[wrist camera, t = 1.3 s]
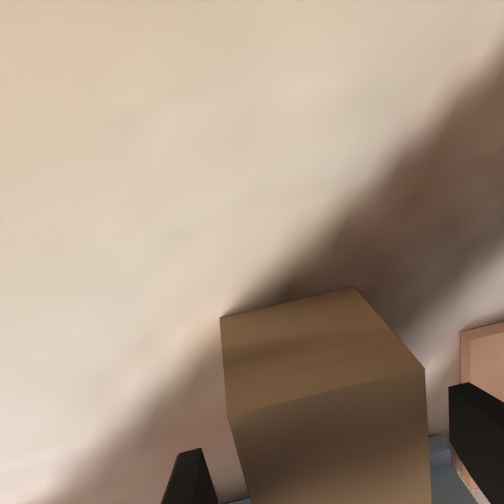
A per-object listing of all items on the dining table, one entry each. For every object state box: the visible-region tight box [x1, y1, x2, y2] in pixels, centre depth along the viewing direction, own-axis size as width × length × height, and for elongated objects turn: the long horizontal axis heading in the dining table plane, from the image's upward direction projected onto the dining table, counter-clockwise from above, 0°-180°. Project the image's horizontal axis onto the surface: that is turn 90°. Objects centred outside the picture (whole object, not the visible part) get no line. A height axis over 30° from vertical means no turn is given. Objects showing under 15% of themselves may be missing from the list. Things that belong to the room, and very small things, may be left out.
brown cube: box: [220, 287, 432, 504], centre depth 13 cm, size 5×5×5 cm
